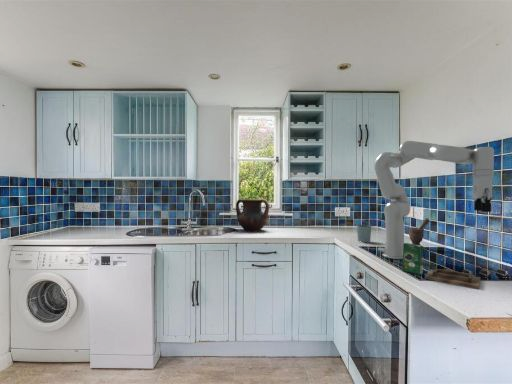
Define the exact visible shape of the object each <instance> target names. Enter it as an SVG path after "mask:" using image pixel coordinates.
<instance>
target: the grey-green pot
mask: <svg viewBox="0 0 512 384" xmlns="http://www.w3.org/2000/svg"><path fill="white" fill-rule="evenodd" d="M356 232H357V242H358V241H361V242H370V243H371V238H372V237H371V235H372V225H368V224H357V225H356ZM361 242H360V243H361Z"/></svg>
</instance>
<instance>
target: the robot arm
mask: <svg viewBox="0 0 512 384" xmlns="http://www.w3.org/2000/svg"><path fill="white" fill-rule="evenodd" d="M414 159H422V160H427V161H434V160H435V161H443V162H448V163H454V164H459V165H470V164H471V165H472V178H473V180H472V181H473V182H472V189H471V190H472V193H471V197H472V199H473V200H474V202H473V207H474V208H473V211H481V212H483V213H491V211H492V199H493V198H492V197H493V180H492V178H494V173H495V172H494V169H495V168H494V167H495V166H494V164H495V163H494V162H495V150H494V148H493V147H490V146H481V147H476V148H474V149H473V148H472V149H469V148H466V147H462V146H454V145H447V144H446V145H444V144H437V143H431V142H421V141H415V140H414V141H413V140H406V141H404V142H402V143H401V144H400V146H399V151H398V152H396V153H395V152H391V151H386V152H382V153H380V154H379V155H378V156H377V157H376V159H375V162H374V172H375V175H376V177H377V178H376V179H377V182H378V185H379V189H380V192H381V196H382V197H383V198H384V199H385V200H390V202H388V203H386V204H385V206H384V210H383V214H384V221H385V238H384V241H385V247H378V248H377V251H378V252H382V253H381V255H382V257H385V258H387V259H392V260H395V259H396V260H403V244H404V243H405V222H404V218H405V217H407V216H408V215H410V214H411V205H410V202H409V198H408V195H407V192H406V189H405V188H404V186H402V185H401V184H400V183H397V182H396V181H395V178H394V174H393V172H392V170H391V168H392V169H397V168H400V167H402V166H404V165H405V164H407V163H409V162H410V161H413V160H414Z"/></svg>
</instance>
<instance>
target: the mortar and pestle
mask: <svg viewBox="0 0 512 384" xmlns="http://www.w3.org/2000/svg"><path fill="white" fill-rule="evenodd" d="M429 223H430V219H428V218H425V219H424V220H423V221H422V223H421V225H420V226H419V227H408V236H409V240H410V241H411V244H415V245H420V246H422V245H421V242H423V240H424V239H423V238H424V236H425V230H424V228H425V227H426V226H427V225H428V224H429Z"/></svg>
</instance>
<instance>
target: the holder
mask: <svg viewBox="0 0 512 384" xmlns="http://www.w3.org/2000/svg"><path fill="white" fill-rule="evenodd" d="M424 279H425V280H427V279H428V281H432V280H433V282H438V283H444V284H449V285H455V286H461V287H466V288H471V289H476V290H479V289H480V284H481V277H479V276H474V275H473V274H472V273H466V272H459V271H454V270H447V269H441V268H435V269H430V270H429V271H428V272H426V274H425V275H424Z"/></svg>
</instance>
